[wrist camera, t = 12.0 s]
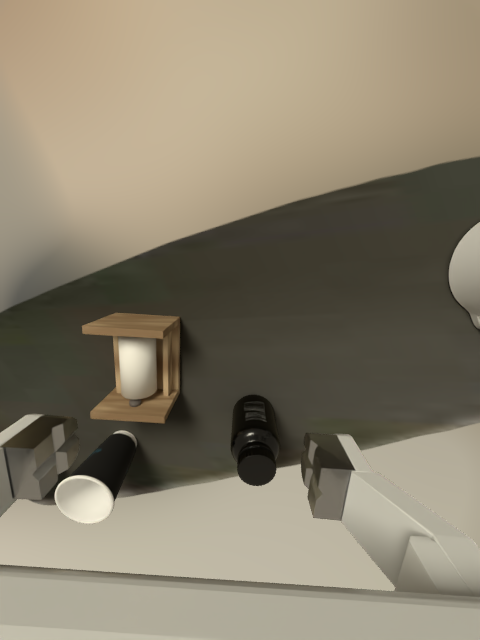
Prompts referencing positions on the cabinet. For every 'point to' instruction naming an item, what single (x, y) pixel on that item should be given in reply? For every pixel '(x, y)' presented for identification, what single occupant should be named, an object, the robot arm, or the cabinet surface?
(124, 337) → the paper roll
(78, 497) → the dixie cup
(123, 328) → the holder
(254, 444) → the supplement bottle
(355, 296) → the cabinet surface
